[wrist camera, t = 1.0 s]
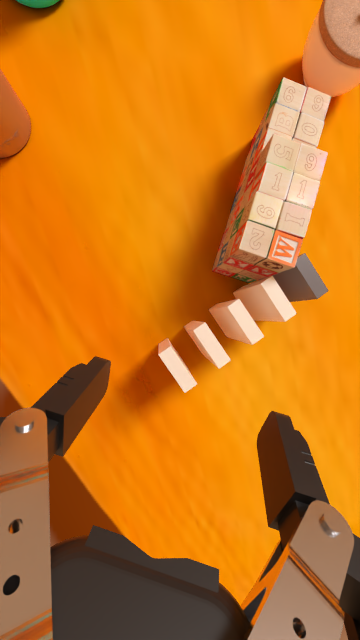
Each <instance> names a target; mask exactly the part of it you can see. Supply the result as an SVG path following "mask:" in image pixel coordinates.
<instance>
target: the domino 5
mask: <svg viewBox="0 0 360 640" xmlns="http://www.w3.org/2000/svg"><path fill="white" fill-rule="evenodd" d="M272 276H273V277H274V279H275V280H276V282H277V283H278V285H279V287H280V288H281V290H282V291H283V293H284V294H285V296H286V297H287V299H288V301H289V302H294V301H302V300H311V299H318V298H319V297H321V296H322V295H323V294H325V293H326V292H328V289H327V288H326V286H325V284H324V283H323V281H322V280H321V278H320V276H319V275H318V273H317V272H316V270H315V268H314V267H313V265H312V264H311V262H310V260H309V259H308V257H307V256H306V254H305V253H304V254H302V255H300V256H298V258H297V262H296V265H295V267H294V268H292V269H289V270H286V271H282V272H280V273H278V274H275V275H272ZM269 277H270V276H269ZM265 278H267V277H265ZM265 278H262V279H265ZM262 279H259V280H262Z"/></svg>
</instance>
